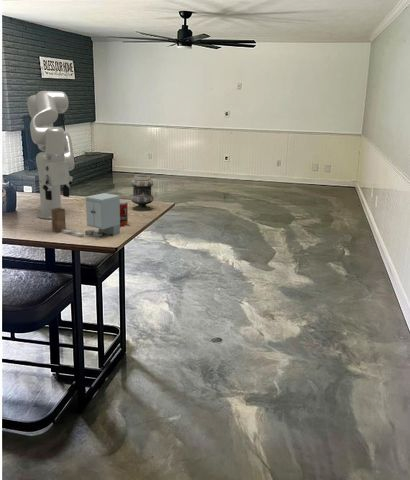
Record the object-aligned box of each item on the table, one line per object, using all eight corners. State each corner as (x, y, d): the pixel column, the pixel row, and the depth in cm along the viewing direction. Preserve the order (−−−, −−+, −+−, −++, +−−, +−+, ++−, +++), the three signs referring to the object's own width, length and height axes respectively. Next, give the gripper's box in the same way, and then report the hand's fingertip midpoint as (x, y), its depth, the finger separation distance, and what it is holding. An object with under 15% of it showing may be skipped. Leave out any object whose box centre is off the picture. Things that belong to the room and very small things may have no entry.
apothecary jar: (154, 206, 268) (154, 174, 263) (152, 211, 257) (152, 178, 252) (132, 206, 268) (132, 173, 263) (129, 211, 256) (129, 177, 251)
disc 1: (83, 235, 211) (83, 231, 211) (90, 233, 214) (89, 229, 214) (90, 236, 209) (90, 233, 209) (96, 234, 212) (96, 231, 212)
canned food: (120, 227, 225) (120, 204, 222) (107, 224, 229) (106, 201, 226) (131, 224, 231) (131, 201, 228) (118, 221, 235) (118, 198, 232)
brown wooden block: (52, 231, 214) (51, 209, 211) (59, 229, 217) (58, 207, 215) (78, 237, 206) (77, 214, 203) (85, 235, 209) (84, 213, 207)
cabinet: (85, 235, 210) (84, 197, 205) (105, 229, 220) (104, 192, 215) (101, 239, 206) (100, 200, 201) (120, 232, 216) (119, 195, 211)
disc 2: (90, 236, 209) (90, 233, 209) (97, 234, 212) (97, 231, 212) (97, 238, 207) (97, 234, 207) (104, 236, 210) (104, 232, 210)
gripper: (45, 160, 197) (47, 202, 201) (77, 157, 211) (78, 196, 215) (33, 159, 200) (35, 200, 205) (65, 156, 215) (66, 194, 219)
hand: (57, 198), depth 210 cm, fingers open, 9 cm apart
